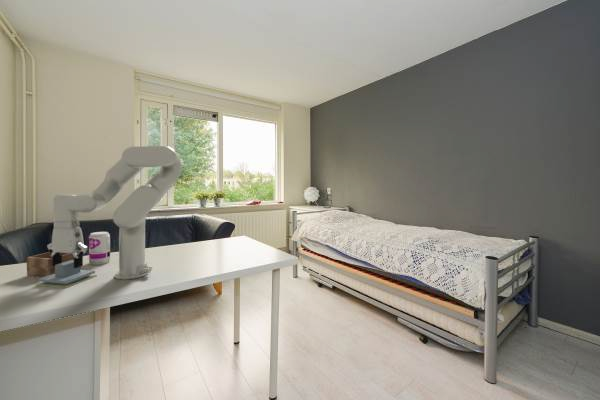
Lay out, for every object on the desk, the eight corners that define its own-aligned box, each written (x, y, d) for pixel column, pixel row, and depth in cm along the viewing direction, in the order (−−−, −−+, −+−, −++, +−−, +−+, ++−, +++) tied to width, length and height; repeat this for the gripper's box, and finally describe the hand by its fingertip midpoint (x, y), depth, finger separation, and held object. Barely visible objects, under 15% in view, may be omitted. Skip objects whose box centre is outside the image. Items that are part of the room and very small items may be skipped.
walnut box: (76, 269, 116) (76, 252, 115) (50, 278, 105) (49, 259, 105) (55, 267, 117) (54, 250, 117) (27, 276, 106) (26, 257, 106)
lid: (94, 275, 109) (94, 259, 108) (66, 286, 97) (65, 268, 96) (69, 273, 110) (69, 257, 110) (38, 283, 98) (38, 266, 98)
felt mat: (96, 275, 109) (96, 275, 109) (65, 288, 96) (65, 287, 96) (70, 273, 111) (70, 272, 111) (35, 285, 98) (35, 284, 98)
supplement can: (98, 266, 121) (98, 235, 120) (84, 264, 123) (84, 233, 122) (114, 261, 129) (114, 232, 128) (101, 259, 131) (100, 231, 130)
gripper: (94, 224, 105) (95, 264, 106) (57, 222, 107) (58, 261, 108) (76, 227, 97) (77, 270, 98) (37, 224, 99) (38, 267, 100)
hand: (67, 266), depth 103 cm, fingers open, 9 cm apart
